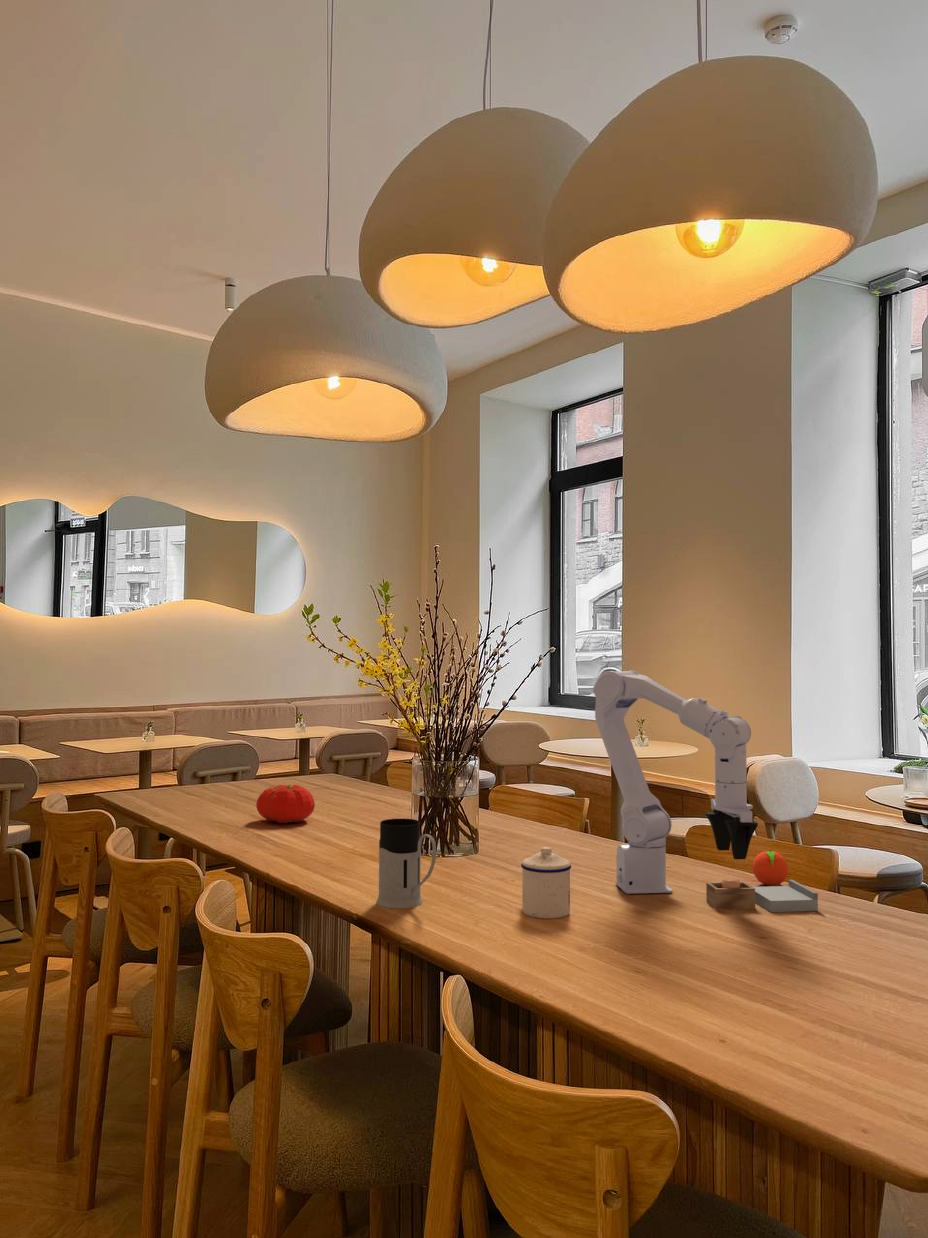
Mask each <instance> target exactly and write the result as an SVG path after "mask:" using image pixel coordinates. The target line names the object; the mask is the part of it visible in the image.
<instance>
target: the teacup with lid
mask: <svg viewBox="0 0 928 1238" xmlns="http://www.w3.org/2000/svg"><path fill="white" fill-rule="evenodd" d="M552 851H553V849H552V848H551V847H548V846H542V847H541V848H540V851H539V852H537V853H534V855H532V856H529V857H527V858H526V857H525V858H524V859H523V860H522V861H521V869H522V872H521V873H522V876H521V877H522V881H521V883H522V890H521V892H522V905H521V906H522V907H521V908H522V912H523V913H524V915H526V916H528V917H531V918H537V919H542V920H543V919H545V920H546V919H547V920H549V919H550V920H551V919H560V918H564V917H566V916H568V915H569V914H570V913H571V868H572V864H571V862H570V860H568V859H566V858H563V857H560V855H559V854H556V853H555V852H552Z"/></svg>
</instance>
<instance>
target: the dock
mask: <svg viewBox="0 0 928 1238" xmlns="http://www.w3.org/2000/svg"><path fill="white" fill-rule="evenodd" d="M787 882H788V885H781V886H780V885H776V886H767V885H766V886H753V887H754V888H755V904H757V905H759V906H761V907H762V908H764V909H765V910H767V911H768V912H770V913H782V912H815V911H816V912H817V911H819V897H818V896H819V894H818V893H819V892H817V891H815V890H813V889H811V888H809V887H807V886H805V885H803V884H801V883H799V882H797V881H796V880H794V879H788V881H787Z"/></svg>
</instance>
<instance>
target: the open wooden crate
mask: <svg viewBox="0 0 928 1238" xmlns="http://www.w3.org/2000/svg"><path fill="white" fill-rule="evenodd" d="M754 887H755V886H752V885H751V884H749V883H747V882H745V881H740V888H722V881H713V882H712V881H711V882H710V881H709V882H706V887H705V888H706V897H705V898H706V902H707V903H708V905H710V906H711V907H713V908H714V910H735V909H736V910H739V909H741V910H742V909H756V902H755V888H754Z"/></svg>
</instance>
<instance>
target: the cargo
mask: <svg viewBox="0 0 928 1238" xmlns="http://www.w3.org/2000/svg"><path fill="white" fill-rule="evenodd" d="M721 882H722V888H740V882H741V881H740V879H737V878H730V877H729V878H726V877H725V878H723V879H721Z"/></svg>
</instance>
